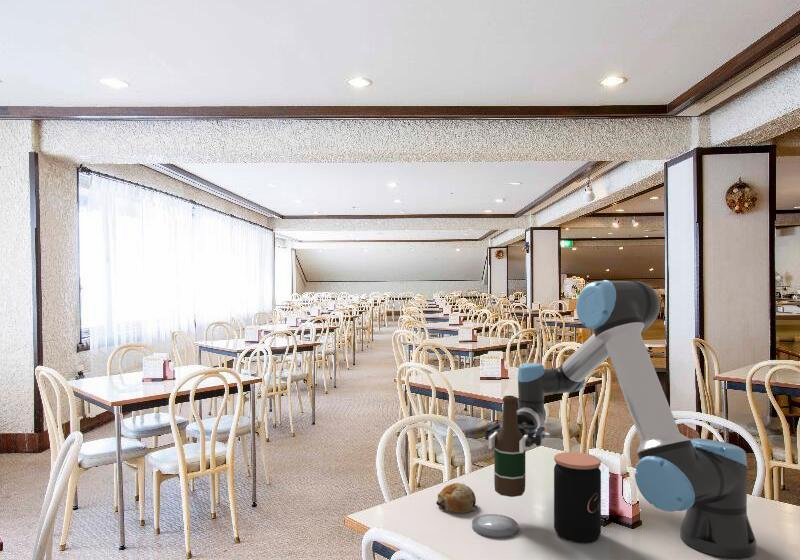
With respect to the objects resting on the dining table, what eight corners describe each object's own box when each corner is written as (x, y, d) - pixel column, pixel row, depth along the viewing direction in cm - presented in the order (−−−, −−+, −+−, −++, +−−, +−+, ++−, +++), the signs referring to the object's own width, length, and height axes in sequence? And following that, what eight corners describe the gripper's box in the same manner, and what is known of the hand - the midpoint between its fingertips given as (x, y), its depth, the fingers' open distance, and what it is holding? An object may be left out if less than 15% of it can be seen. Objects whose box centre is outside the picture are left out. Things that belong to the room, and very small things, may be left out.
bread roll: (467, 529, 147) (480, 502, 147) (431, 509, 149) (444, 482, 149) (470, 514, 157) (482, 489, 157) (436, 495, 159) (448, 470, 158)
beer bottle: (528, 497, 141) (528, 399, 141) (496, 497, 141) (496, 399, 141) (522, 486, 149) (522, 393, 149) (492, 486, 149) (492, 393, 149)
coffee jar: (594, 548, 129) (594, 468, 129) (548, 537, 135) (548, 460, 135) (605, 531, 138) (605, 456, 138) (561, 521, 144) (561, 449, 144)
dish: (514, 519, 145) (514, 513, 145) (521, 538, 134) (521, 532, 134) (470, 518, 145) (470, 513, 145) (474, 537, 134) (474, 531, 134)
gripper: (560, 441, 158) (546, 465, 136) (489, 433, 165) (466, 455, 144) (560, 414, 158) (546, 434, 137) (489, 407, 166) (466, 425, 144)
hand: (505, 445), depth 141 cm, fingers closed on beer bottle, 7 cm apart
